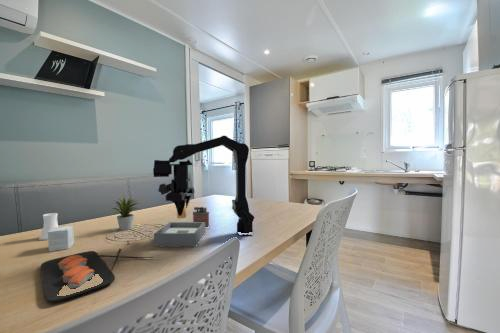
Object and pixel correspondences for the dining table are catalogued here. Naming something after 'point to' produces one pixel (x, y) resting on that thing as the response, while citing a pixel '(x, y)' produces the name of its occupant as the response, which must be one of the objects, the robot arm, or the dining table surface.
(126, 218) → the house plant
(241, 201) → the robot arm
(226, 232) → the dining table surface
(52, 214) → the salt shaker
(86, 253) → the sushi plate
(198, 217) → the lighter
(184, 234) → the box
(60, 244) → the product box
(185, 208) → the peg
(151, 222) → the dining table surface
